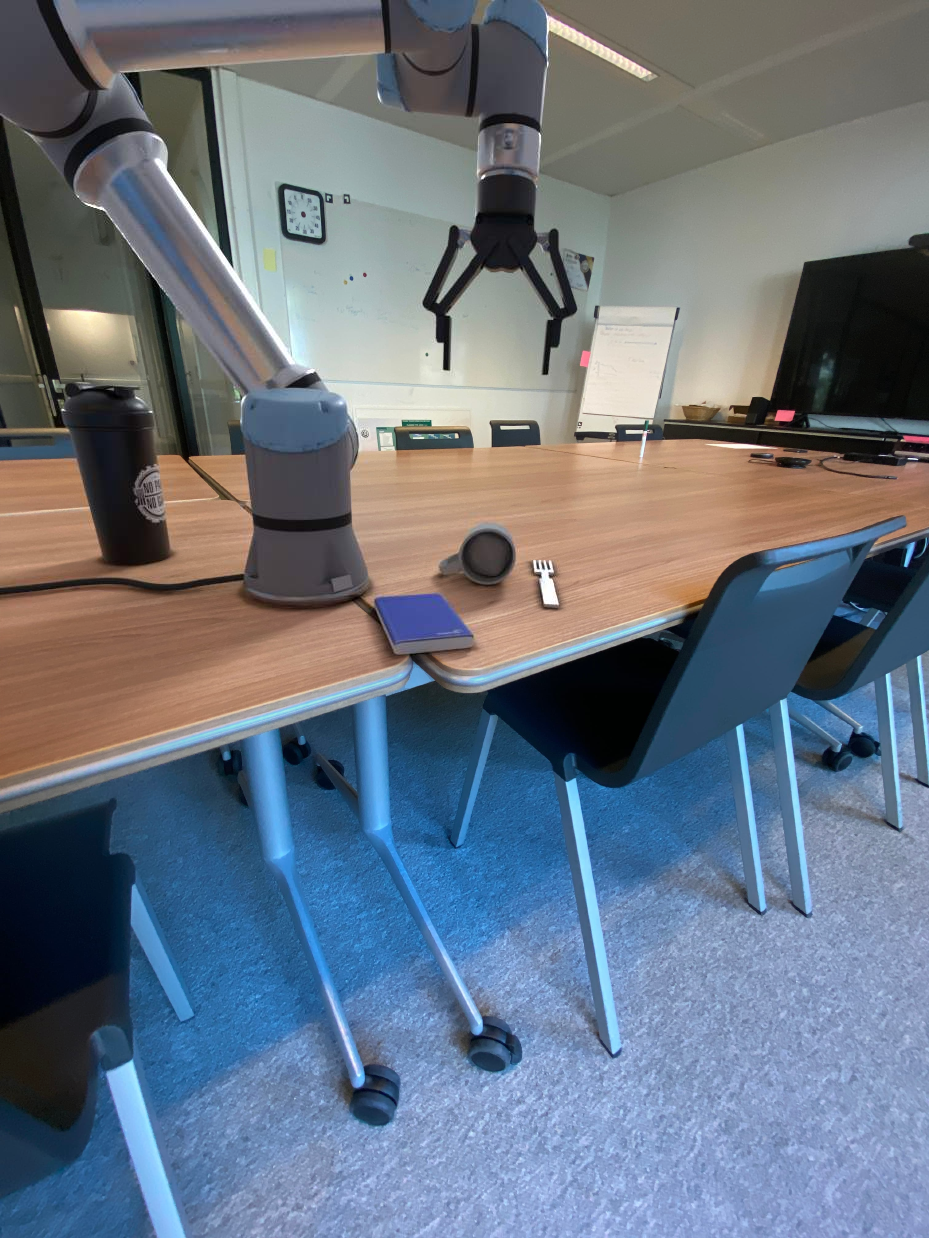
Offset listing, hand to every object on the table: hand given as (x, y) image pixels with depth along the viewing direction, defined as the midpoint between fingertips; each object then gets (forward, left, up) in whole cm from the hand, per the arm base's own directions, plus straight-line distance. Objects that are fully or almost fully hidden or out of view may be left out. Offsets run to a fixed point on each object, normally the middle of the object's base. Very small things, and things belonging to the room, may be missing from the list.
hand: (495, 373), depth 73 cm
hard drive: (-6, -28, -27) cm, 39 cm away
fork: (+9, -10, -27) cm, 30 cm away
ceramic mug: (-1, -9, -27) cm, 28 cm away
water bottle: (-50, -10, -27) cm, 58 cm away
